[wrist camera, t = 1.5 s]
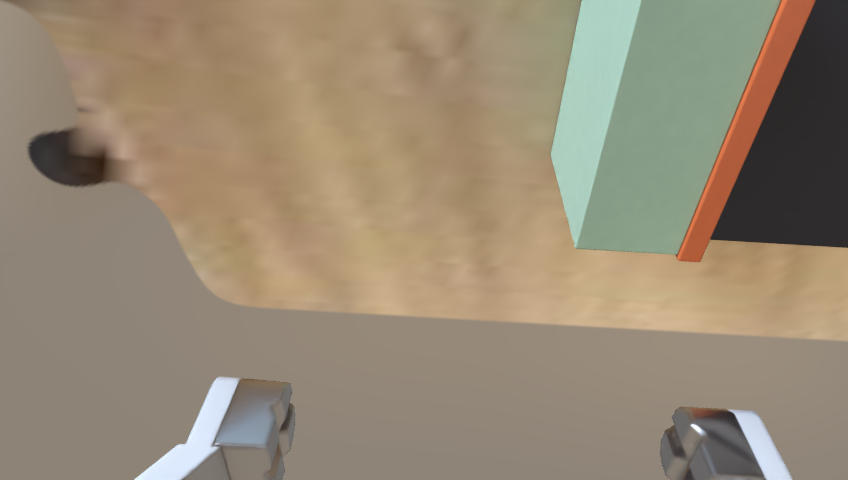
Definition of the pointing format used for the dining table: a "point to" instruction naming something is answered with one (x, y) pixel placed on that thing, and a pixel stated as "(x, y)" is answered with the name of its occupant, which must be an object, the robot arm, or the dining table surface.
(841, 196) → the mat
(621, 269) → the dining table surface
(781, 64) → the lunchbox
